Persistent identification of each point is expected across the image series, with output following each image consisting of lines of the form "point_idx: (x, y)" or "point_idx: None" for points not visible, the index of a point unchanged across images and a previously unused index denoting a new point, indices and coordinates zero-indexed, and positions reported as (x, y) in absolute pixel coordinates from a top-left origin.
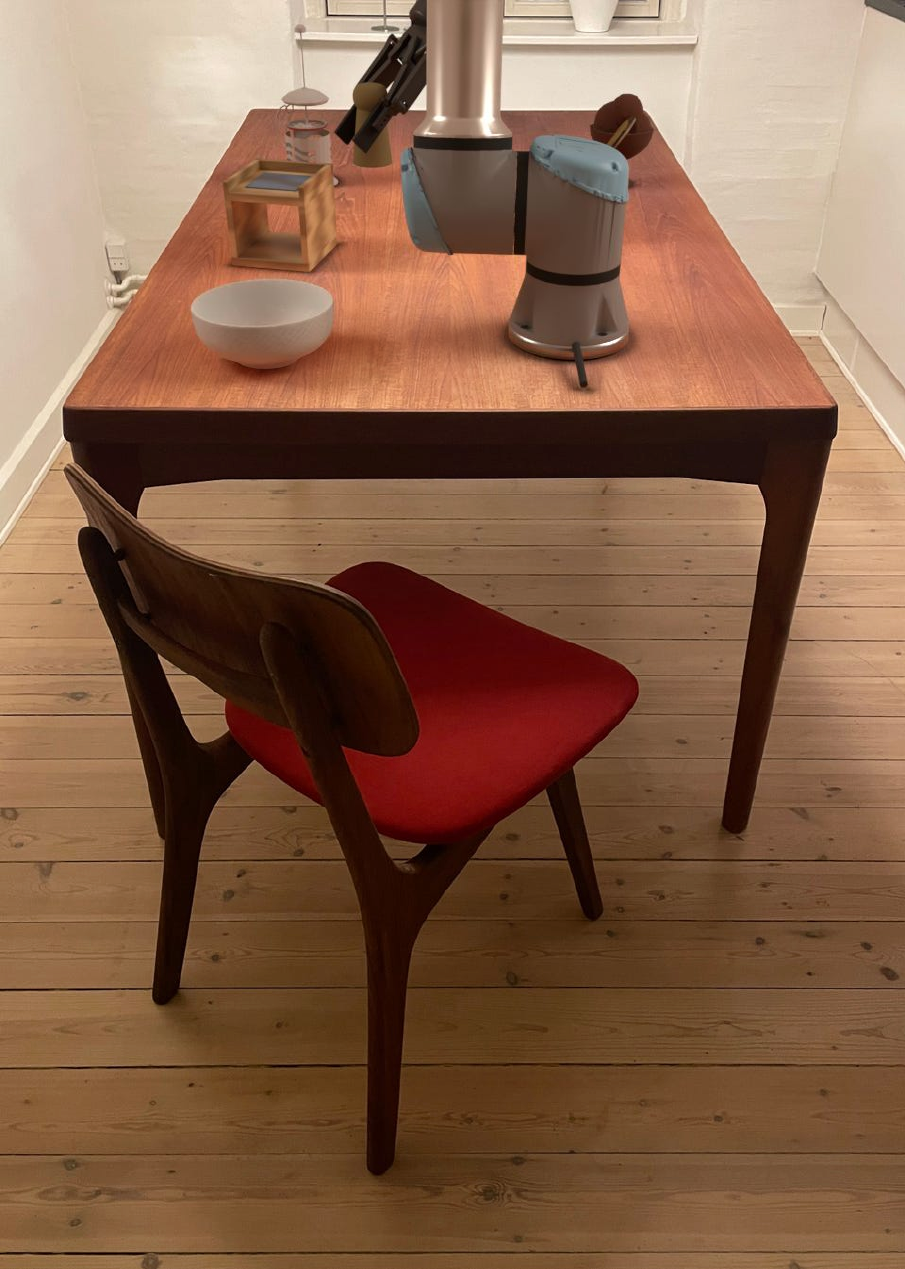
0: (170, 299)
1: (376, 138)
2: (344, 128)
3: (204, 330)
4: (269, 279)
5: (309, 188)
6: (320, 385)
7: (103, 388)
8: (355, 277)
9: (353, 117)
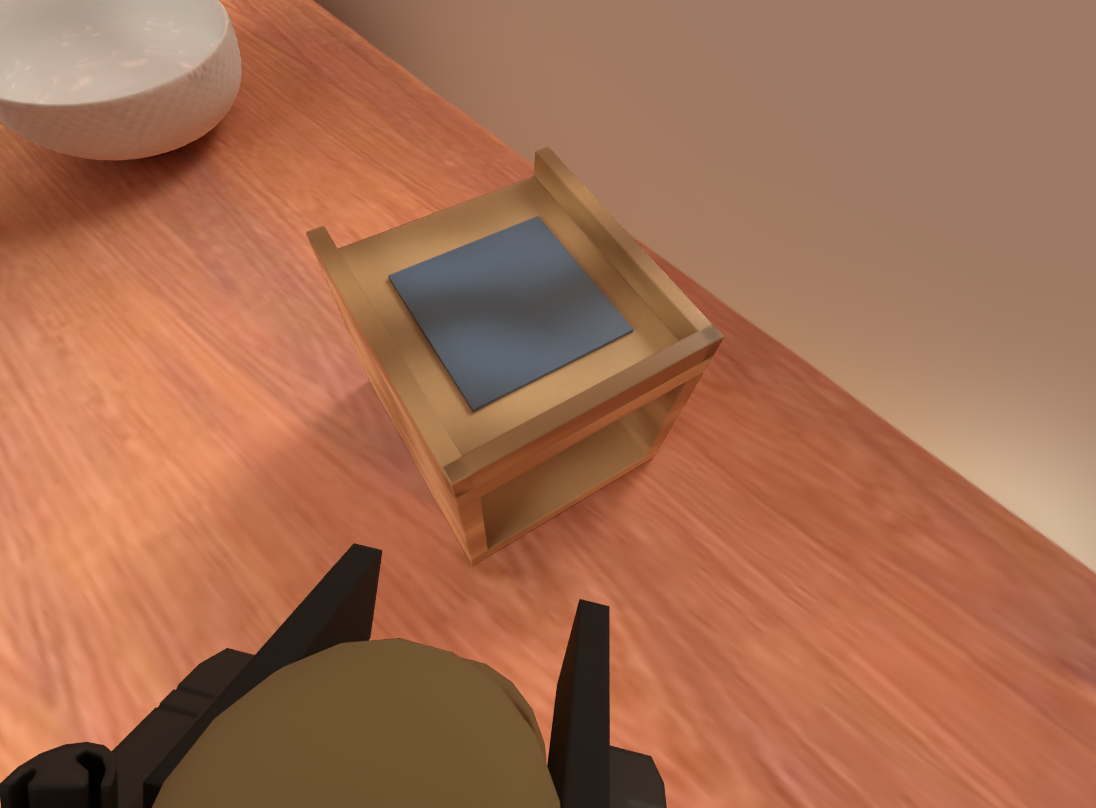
0: (470, 160)
1: None
2: (569, 661)
3: None
4: (158, 85)
5: (332, 282)
6: None
7: (286, 2)
8: (249, 428)
9: (561, 748)
